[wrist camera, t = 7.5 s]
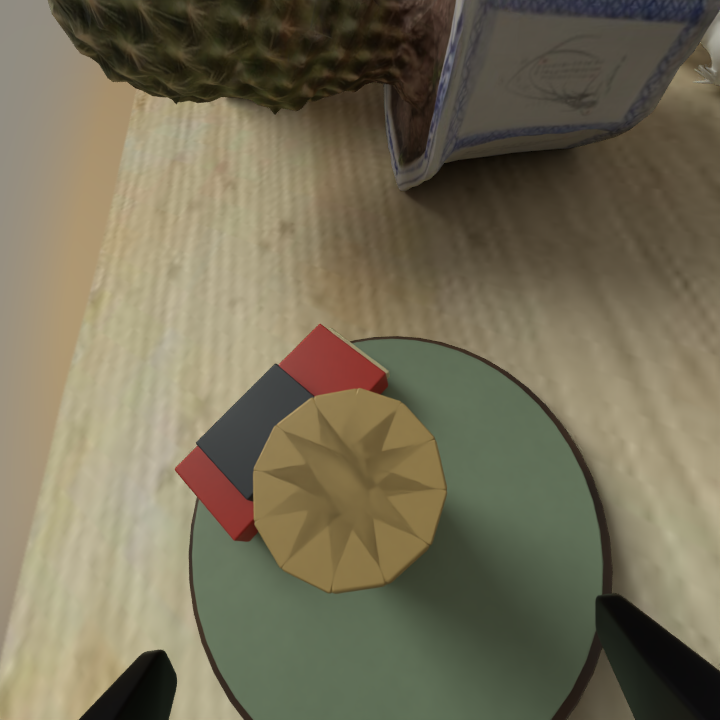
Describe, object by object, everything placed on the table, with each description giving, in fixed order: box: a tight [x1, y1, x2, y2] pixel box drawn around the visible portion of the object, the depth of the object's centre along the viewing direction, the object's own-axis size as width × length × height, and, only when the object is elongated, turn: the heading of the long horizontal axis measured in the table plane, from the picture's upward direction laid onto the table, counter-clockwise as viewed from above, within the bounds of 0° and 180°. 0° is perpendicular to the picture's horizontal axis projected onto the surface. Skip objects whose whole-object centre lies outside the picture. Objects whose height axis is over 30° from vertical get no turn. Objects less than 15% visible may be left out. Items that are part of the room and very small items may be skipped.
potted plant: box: [48, 0, 720, 191], centre depth 21 cm, size 18×18×30 cm
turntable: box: [175, 324, 603, 720], centre depth 13 cm, size 17×17×10 cm
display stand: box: [189, 336, 613, 720], centre depth 18 cm, size 18×18×1 cm
